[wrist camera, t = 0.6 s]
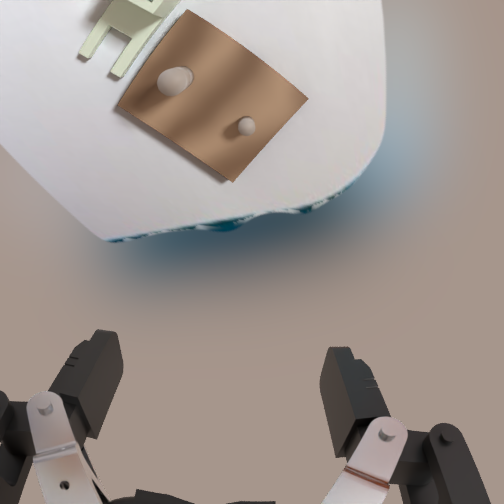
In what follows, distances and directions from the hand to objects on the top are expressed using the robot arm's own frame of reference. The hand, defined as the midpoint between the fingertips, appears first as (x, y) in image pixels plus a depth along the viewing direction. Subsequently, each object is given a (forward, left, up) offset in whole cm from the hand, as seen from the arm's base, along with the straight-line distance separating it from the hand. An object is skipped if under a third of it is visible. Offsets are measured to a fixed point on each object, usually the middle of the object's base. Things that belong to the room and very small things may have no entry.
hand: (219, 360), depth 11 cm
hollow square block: (-17, +6, -26) cm, 32 cm away
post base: (-5, +3, -26) cm, 27 cm away
